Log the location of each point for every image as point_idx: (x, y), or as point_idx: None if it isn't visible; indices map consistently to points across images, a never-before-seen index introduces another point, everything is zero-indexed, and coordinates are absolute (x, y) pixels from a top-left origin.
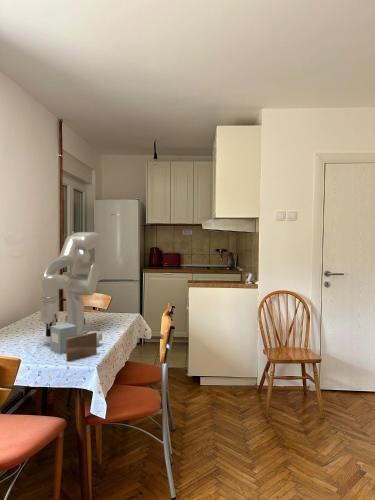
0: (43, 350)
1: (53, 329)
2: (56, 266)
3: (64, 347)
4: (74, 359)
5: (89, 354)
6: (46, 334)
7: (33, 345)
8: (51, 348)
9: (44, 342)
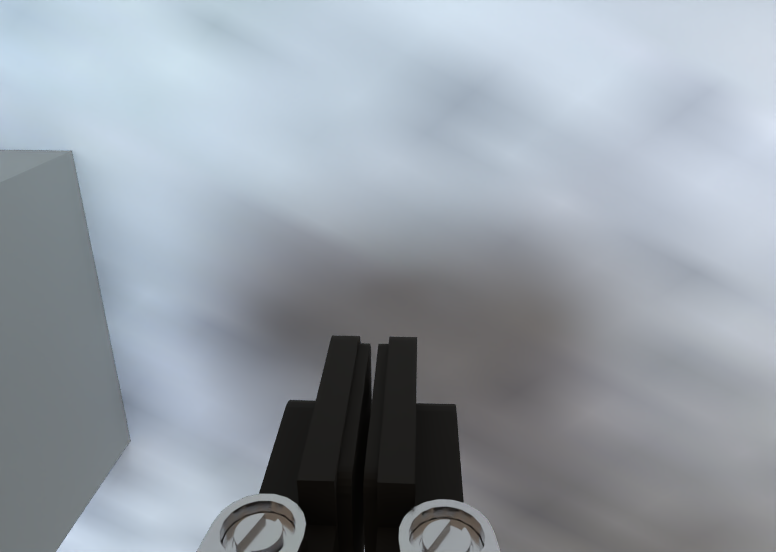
0: (164, 57)
1: None
2: None
3: None
4: None
5: None
6: (388, 363)
7: (684, 92)
8: (9, 161)
9: (684, 340)
